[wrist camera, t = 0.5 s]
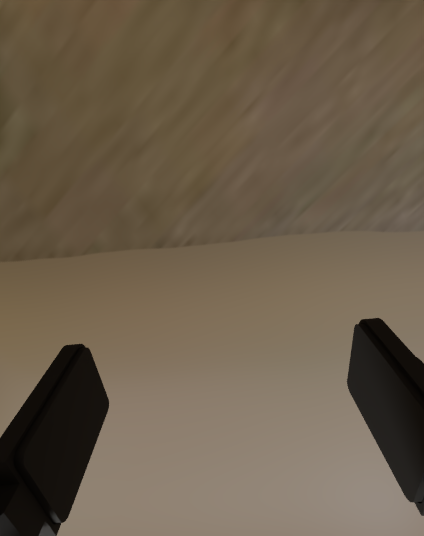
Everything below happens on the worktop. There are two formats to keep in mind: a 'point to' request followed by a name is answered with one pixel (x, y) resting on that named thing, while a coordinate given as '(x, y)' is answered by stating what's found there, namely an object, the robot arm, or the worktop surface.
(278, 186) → the worktop surface
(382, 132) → the worktop surface
